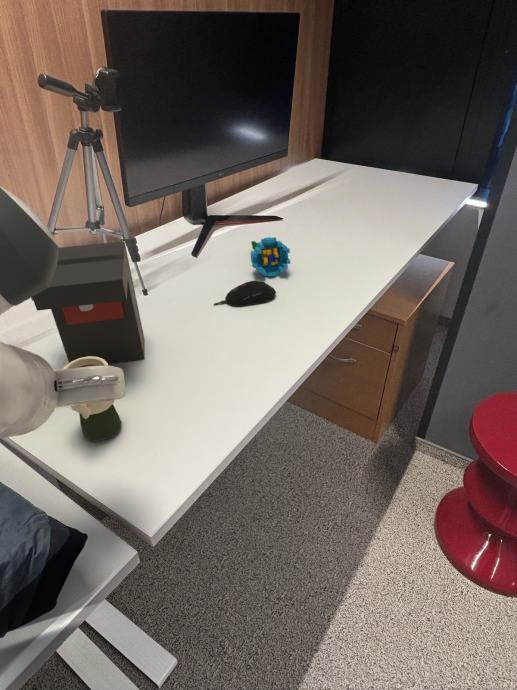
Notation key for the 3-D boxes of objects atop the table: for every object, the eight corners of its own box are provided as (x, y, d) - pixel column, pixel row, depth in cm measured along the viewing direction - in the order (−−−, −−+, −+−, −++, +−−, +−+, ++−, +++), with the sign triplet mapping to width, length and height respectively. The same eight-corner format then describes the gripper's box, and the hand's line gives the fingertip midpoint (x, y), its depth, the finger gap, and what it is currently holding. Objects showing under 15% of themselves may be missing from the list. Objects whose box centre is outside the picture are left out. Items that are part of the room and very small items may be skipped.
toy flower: (273, 260, 134) (291, 275, 118) (242, 264, 132) (256, 280, 116) (271, 227, 131) (290, 238, 114) (239, 231, 129) (253, 242, 113)
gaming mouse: (210, 298, 112) (209, 283, 110) (270, 287, 116) (270, 272, 113) (217, 312, 107) (215, 297, 105) (279, 300, 111) (279, 285, 108)
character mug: (86, 408, 84) (67, 350, 76) (127, 404, 85) (113, 346, 77) (74, 457, 76) (51, 397, 68) (120, 453, 76) (103, 393, 68)
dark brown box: (66, 393, 87) (29, 289, 74) (74, 347, 98) (43, 249, 85) (144, 382, 89) (122, 279, 76) (144, 338, 100) (124, 241, 87)
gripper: (112, 347, 49) (131, 361, 63) (-105, 373, 46) (-36, 382, 60) (119, 408, 49) (136, 409, 62) (-101, 439, 46) (-33, 433, 59)
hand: (50, 396), depth 61 cm, fingers open, 8 cm apart
